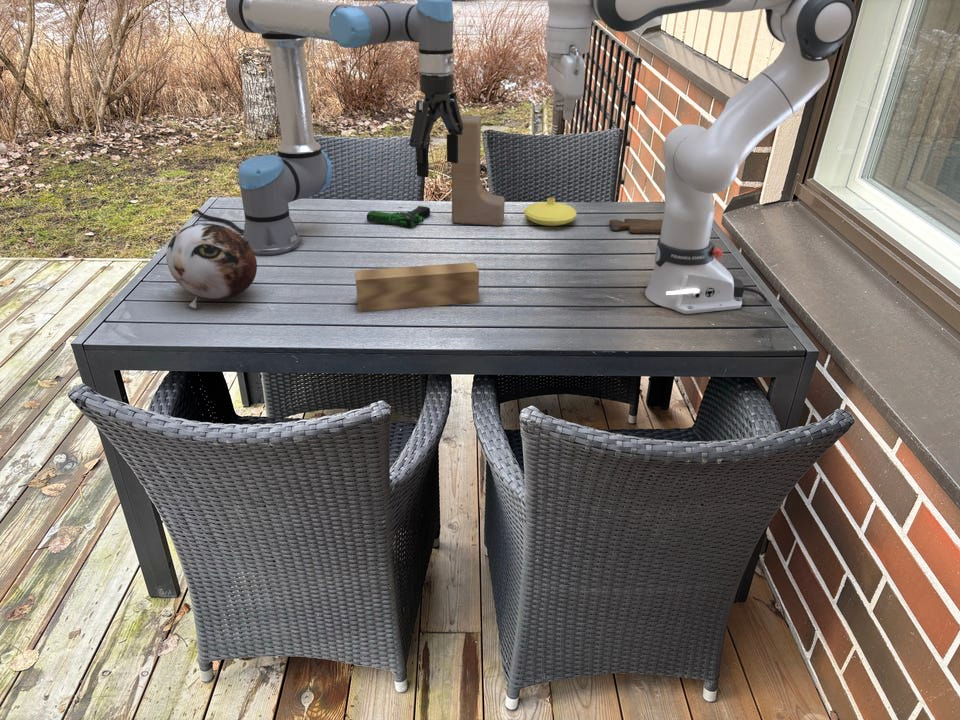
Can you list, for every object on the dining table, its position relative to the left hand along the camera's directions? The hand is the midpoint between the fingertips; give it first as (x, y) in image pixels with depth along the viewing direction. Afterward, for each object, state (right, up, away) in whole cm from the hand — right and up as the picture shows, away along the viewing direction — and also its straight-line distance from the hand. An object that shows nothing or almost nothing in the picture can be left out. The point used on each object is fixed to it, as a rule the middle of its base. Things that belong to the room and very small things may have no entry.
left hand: (438, 169), depth 169 cm
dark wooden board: (+62, -6, +44) cm, 76 cm away
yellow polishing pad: (+31, -3, +47) cm, 57 cm away
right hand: (+27, +6, -20) cm, 34 cm away
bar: (-5, -31, -1) cm, 32 cm away
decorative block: (+9, -3, +47) cm, 48 cm away
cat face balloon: (-52, -30, 0) cm, 60 cm away
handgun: (-14, -2, +48) cm, 50 cm away
